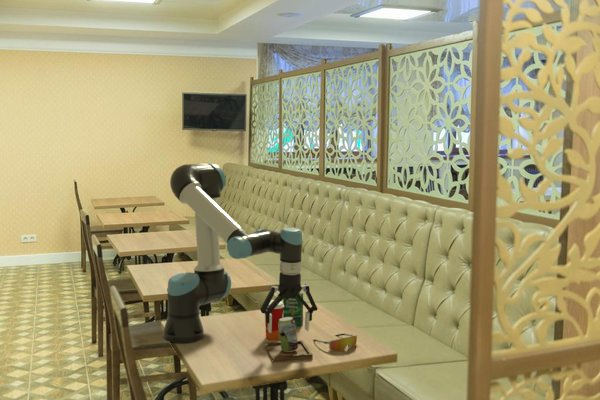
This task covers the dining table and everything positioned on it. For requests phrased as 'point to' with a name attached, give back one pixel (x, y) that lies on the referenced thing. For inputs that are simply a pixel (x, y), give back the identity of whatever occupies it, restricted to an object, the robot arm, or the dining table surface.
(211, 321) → the dining table surface
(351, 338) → the sunglasses
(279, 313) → the paper cup
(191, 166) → the robot arm
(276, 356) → the far tray
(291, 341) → the beverage can
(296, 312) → the coffee box
